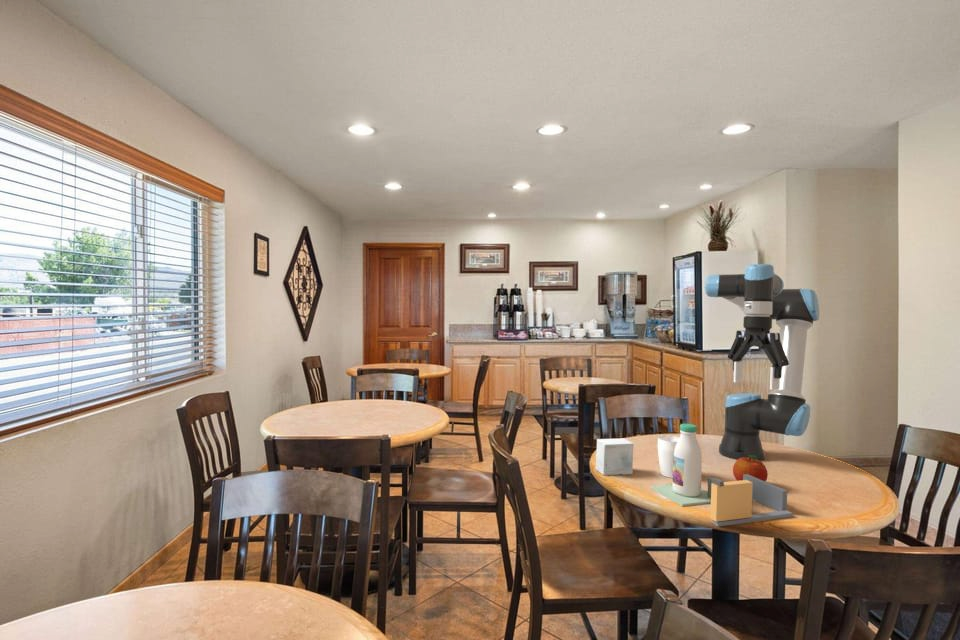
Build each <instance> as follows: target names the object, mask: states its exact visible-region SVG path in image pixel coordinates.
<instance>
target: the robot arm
mask: <svg viewBox="0 0 960 640" xmlns="http://www.w3.org/2000/svg"><path fill="white" fill-rule="evenodd" d="M774 271H775V270H774V265H772V264H768V263H761V264H759V263H758V264H757V263H756V264H749V265H747V266H746V267H745V271H744V273H740V274H739V273H738V274H735V273H734V274H718V273H717V274H712V275H708V276H707V277H706V279H705V281H704V283H705V284H704V290H705V291H704V292H705V294H706V295H707V296H708V297H709V298H722V299H725V300H727V301H728V302H730V303H733V304H735V305H736V306H738V308H739V309H740V310H741V312H743V314H744V315H745V316H744V317H743V328H744V329H745V330H736V332H735V338H734V341H733V342H732V346H731V347H730V350H729V352H728V354H727V358H728V359H729V360H731V361H732V371H733V383H743V373H744V372H743V371H744V361H743V358H744V357H745V355H746V354H748V352H749V351H750V349H751V348H752V347H756V348H757V347H758V348H760V349H762V350H763V351H764V354H765V356H767V358H768V360H769V361H770V364H772V365H771V366H770V371H769V372H770V373H769V375H770V376H769V390H771V391H769V392H768V393H767V398H762V395H761V394H760V393H753V392H749V393H748V392H747V393H746V392H745V393H744V392H743V393H741V392H740V393H731V394H728V395H727V396H726V398H725V404H724V405H725V406H724V432H723V433H724V434H723V436H722V438H721V442H720V444H719V446H718V453H719V454H721V455H722V456H724V457H728V458H730V459H736V460H738V459H739V458H743V457H748V455H754V456H756V457H757V458H756V460H759V461H762V460H764V459H765V451H764V448H763V445H762V441H761V437H760V432H761V431H762V432H767V433H774V434H779V435H785V436H793V437H800V436H802V435H804V434H805V432H806V431H807V428H808V426H809V422H810V417H811V406H810V405H809V404H808V403H806V398H805V397H804V396H803V395H802V390H803V389H802V387H803V379H804V369H805V368H804V367H805V359H806V358H805V356H806V346H807V337H808V330H809V329H811V328H812V327H813V325H814V322H817V321H819V319H820V307H819V299H818V295H817V293H816V291H815V290H813V289H812V288H810V289H809V288H800V287H799V288H785V287H784V286H785V284H784V280H783V279H782V278H781V277H780V276H779V275H777V274H775V272H774ZM773 320H775V324H776V325H777V326H778V327H779V332H771V331H770V330H771V329H772V327H773Z"/></svg>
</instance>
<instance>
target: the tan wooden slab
mask: <svg viewBox="0 0 960 640" xmlns="http://www.w3.org/2000/svg"><path fill="white" fill-rule="evenodd" d="M711 478H712V483H711V503H710V518H709V519H711V520H714V521H716V522H718V521H726V520H733V519H741V518H749V517H751V515H752V513H753V511H752V510H753V506H752V505H753V499H752V485H753V483H752V482H750V481H748V480H740V481H737V480H734V481H733V480H732V481H723V480H722V479H719V478H717V477H711Z"/></svg>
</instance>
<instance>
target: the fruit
mask: <svg viewBox="0 0 960 640" xmlns="http://www.w3.org/2000/svg"><path fill="white" fill-rule="evenodd" d="M756 458H757V457H756V456H754V455H748V457H743V458H739V459H736V461H735V462H734V464H733V467H732V472H733V476H734V479H735V481H740V480H743V475H744V474H748V475H750V476H753V477H755V478H758V479H760V480H763V481H765V482H767V480H768V477H769V476H768V475H769V474H768V469H767V467H766V465H765V464H764V463H763V462H762V460H756Z"/></svg>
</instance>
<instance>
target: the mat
mask: <svg viewBox="0 0 960 640" xmlns="http://www.w3.org/2000/svg"><path fill="white" fill-rule="evenodd" d="M650 489H652V490H654V491H655V492H657V493H659V494H661V495H662V496H664V497H666V498H667V499H669V500H670V501H673V502H674V503H676V504H677V505H679V506H681V507H688V506H697V505H704V504H705V505H706V504H707V505H708V504H711V498H709V497H708V490H706V489H704V488H702V487H701V493H700V495H699V496H696V497H688V496H683V495H679V494H677V493H675V492H674V491H673V483H672V484H660V485H651V487H650Z"/></svg>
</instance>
